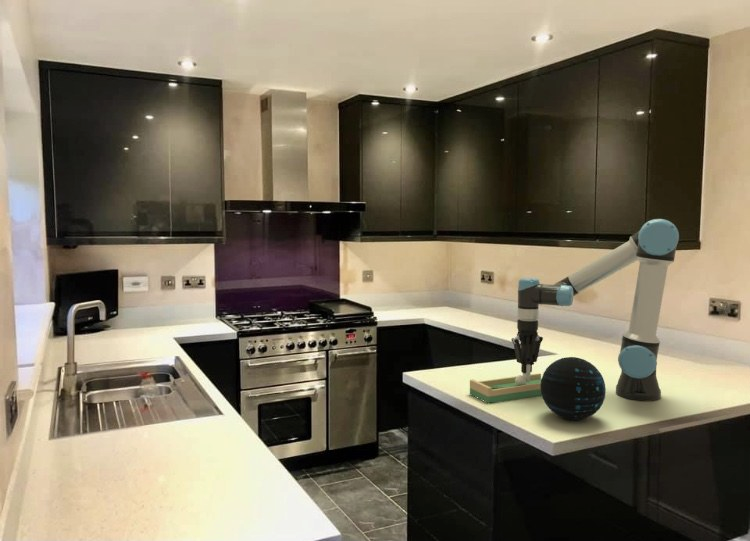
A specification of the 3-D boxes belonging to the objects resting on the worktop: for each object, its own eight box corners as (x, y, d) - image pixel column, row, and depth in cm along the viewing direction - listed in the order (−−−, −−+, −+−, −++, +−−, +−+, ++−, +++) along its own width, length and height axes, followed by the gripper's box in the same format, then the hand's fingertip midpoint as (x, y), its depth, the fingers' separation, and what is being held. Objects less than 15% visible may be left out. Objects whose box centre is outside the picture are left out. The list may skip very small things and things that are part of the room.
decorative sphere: (608, 431, 172) (610, 367, 171) (540, 426, 178) (541, 363, 176) (601, 411, 192) (602, 352, 190) (539, 406, 197) (540, 349, 195)
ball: (516, 384, 211) (524, 389, 212) (522, 375, 211) (529, 380, 212) (511, 381, 214) (518, 385, 216) (516, 372, 215) (523, 376, 216)
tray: (560, 392, 213) (560, 378, 213) (488, 403, 201) (488, 388, 200) (539, 384, 224) (539, 370, 224) (469, 394, 212) (469, 379, 211)
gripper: (535, 316, 218) (534, 376, 220) (507, 318, 213) (506, 380, 215) (548, 319, 211) (546, 381, 213) (519, 322, 207) (518, 385, 208)
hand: (526, 381), depth 214 cm, fingers closed
